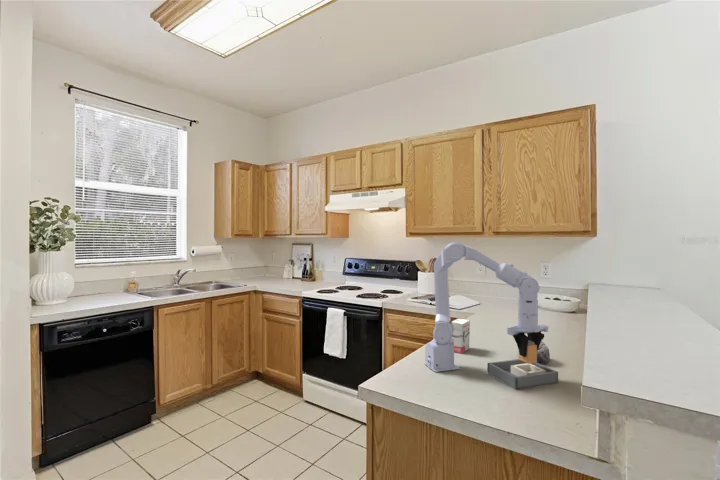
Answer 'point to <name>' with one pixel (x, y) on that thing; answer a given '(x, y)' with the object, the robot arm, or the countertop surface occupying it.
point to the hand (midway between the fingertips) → (528, 355)
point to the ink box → (461, 335)
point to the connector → (530, 353)
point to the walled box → (522, 374)
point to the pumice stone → (543, 354)
